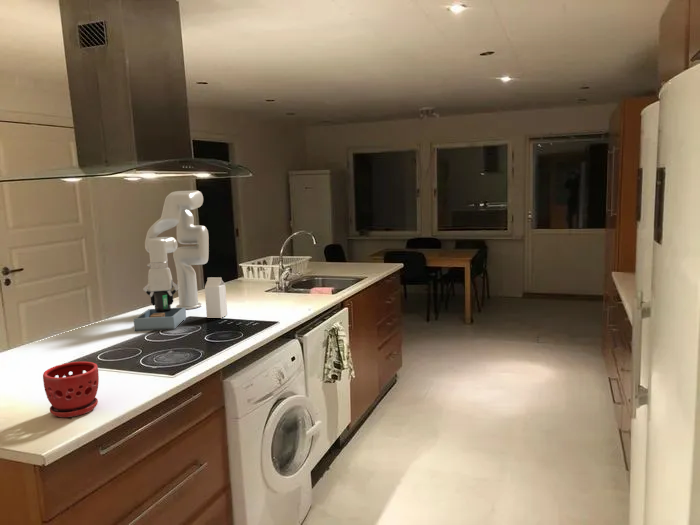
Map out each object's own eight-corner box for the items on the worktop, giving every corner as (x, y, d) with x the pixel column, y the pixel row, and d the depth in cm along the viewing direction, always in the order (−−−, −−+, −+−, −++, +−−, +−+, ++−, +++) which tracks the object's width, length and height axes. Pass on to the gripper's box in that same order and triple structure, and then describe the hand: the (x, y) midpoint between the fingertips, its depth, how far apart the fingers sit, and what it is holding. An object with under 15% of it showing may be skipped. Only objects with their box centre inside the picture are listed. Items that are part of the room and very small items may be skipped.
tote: (149, 320, 252) (148, 309, 252) (186, 318, 253) (185, 307, 252) (134, 331, 232) (133, 318, 232) (174, 329, 233) (173, 316, 233)
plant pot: (35, 417, 142) (30, 373, 140) (78, 399, 153) (74, 359, 152) (71, 424, 136) (66, 378, 135) (112, 405, 148) (108, 363, 147)
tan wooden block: (154, 324, 241) (153, 313, 240) (165, 323, 241) (164, 312, 240) (150, 327, 236) (149, 315, 235) (162, 326, 236) (161, 315, 235)
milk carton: (221, 319, 250) (218, 278, 247) (206, 318, 251) (203, 278, 249) (227, 315, 256) (224, 276, 254) (213, 315, 258) (210, 276, 255)
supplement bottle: (169, 312, 243) (167, 285, 242) (154, 313, 242) (151, 287, 240) (171, 309, 250) (169, 283, 248) (156, 310, 248) (154, 284, 247)
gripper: (137, 267, 239) (140, 307, 241) (176, 266, 240) (179, 305, 242) (142, 265, 247) (145, 304, 249) (180, 264, 248) (183, 302, 250)
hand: (162, 304), depth 245 cm, fingers closed on supplement bottle, 6 cm apart
